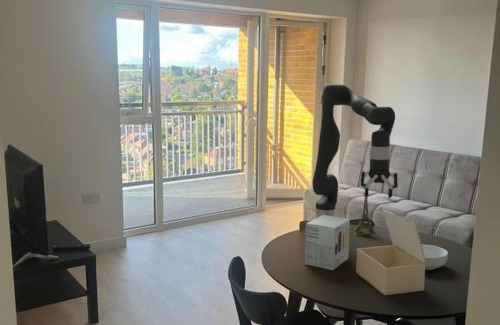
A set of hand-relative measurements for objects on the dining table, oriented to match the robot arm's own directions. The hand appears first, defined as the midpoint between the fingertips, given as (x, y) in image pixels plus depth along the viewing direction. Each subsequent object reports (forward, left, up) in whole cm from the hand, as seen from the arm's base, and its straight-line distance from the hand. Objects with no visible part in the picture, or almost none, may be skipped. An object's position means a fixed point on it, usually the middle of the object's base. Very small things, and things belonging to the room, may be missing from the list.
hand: (378, 197), depth 191 cm
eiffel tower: (-6, +48, -30) cm, 57 cm away
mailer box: (+5, -12, -30) cm, 33 cm away
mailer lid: (+10, -9, -12) cm, 18 cm away
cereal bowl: (+20, +8, -30) cm, 37 cm away
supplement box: (-20, +3, -30) cm, 36 cm away
